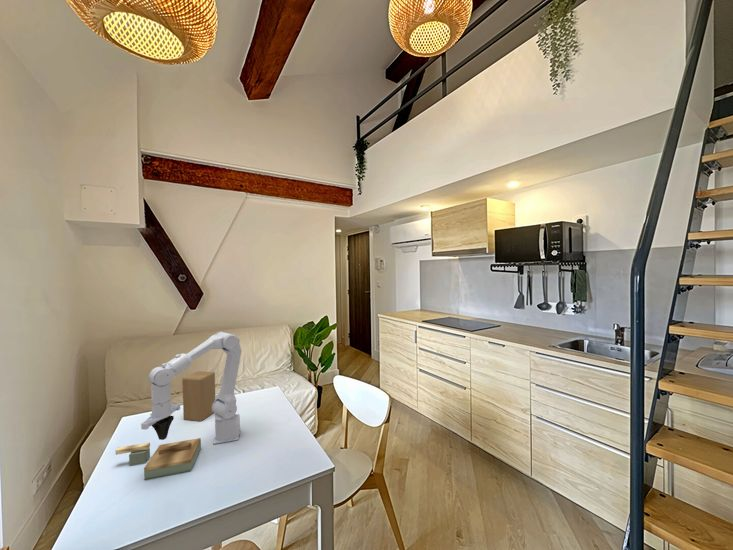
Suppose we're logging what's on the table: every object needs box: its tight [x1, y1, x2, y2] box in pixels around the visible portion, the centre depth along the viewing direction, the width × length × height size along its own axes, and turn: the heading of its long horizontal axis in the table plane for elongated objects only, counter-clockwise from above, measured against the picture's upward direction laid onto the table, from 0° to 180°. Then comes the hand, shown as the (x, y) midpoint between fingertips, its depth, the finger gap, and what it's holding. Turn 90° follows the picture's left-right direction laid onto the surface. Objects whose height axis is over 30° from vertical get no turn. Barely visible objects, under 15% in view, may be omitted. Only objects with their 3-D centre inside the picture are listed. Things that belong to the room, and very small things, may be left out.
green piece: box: [143, 440, 202, 481], centre depth 109 cm, size 14×14×3 cm
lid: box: [143, 437, 202, 472], centre depth 109 cm, size 14×14×2 cm
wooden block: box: [181, 370, 216, 422], centre depth 144 cm, size 10×10×20 cm
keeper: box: [128, 446, 151, 467], centre depth 110 cm, size 5×4×4 cm
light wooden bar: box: [115, 442, 151, 455], centre depth 109 cm, size 10×2×2 cm, turn 107°
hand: (162, 438), depth 106 cm, fingers closed
